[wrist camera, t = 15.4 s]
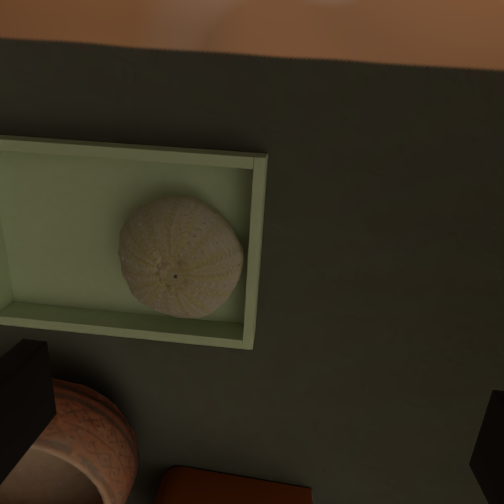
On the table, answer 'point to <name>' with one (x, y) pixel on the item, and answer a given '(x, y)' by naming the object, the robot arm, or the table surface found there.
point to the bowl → (77, 454)
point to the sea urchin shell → (180, 256)
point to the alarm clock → (225, 489)
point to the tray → (116, 234)
